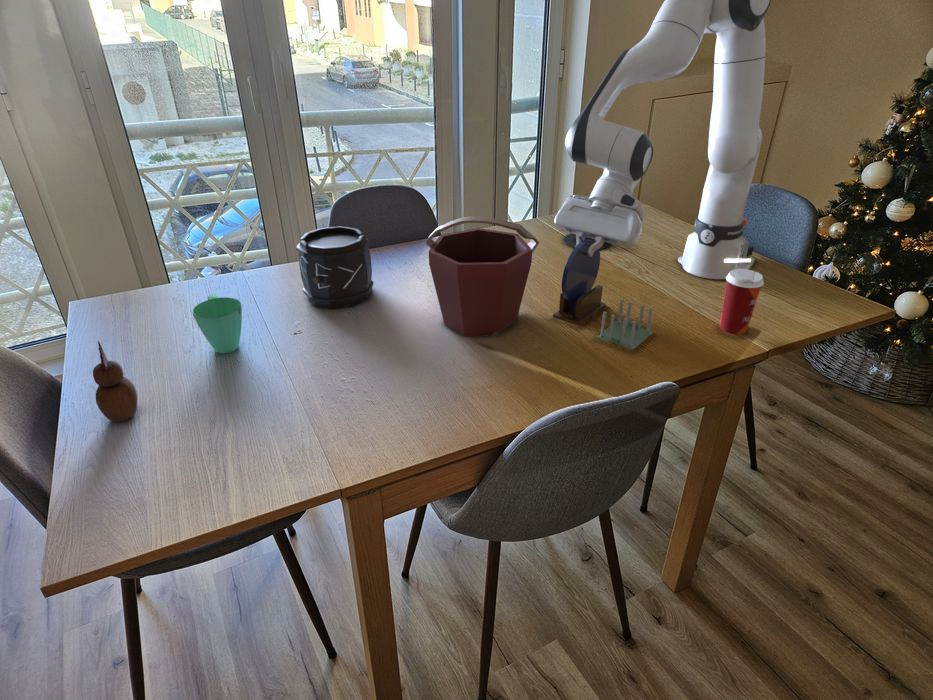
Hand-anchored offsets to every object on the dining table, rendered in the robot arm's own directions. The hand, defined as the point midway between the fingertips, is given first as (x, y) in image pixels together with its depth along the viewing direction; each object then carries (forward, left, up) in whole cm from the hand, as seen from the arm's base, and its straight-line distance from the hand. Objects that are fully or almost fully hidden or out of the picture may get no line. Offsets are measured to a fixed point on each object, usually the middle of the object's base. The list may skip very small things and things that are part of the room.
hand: (582, 253), depth 139 cm
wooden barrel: (+33, -51, -16) cm, 63 cm away
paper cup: (-18, +30, -16) cm, 38 cm away
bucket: (+18, -15, -16) cm, 28 cm away
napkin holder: (-1, 0, -16) cm, 16 cm away
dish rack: (+2, +14, -16) cm, 21 cm away
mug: (+65, -49, -16) cm, 83 cm away
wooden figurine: (+91, -37, -16) cm, 100 cm away
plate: (-1, 0, -12) cm, 12 cm away
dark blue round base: (-43, -27, -16) cm, 53 cm away
